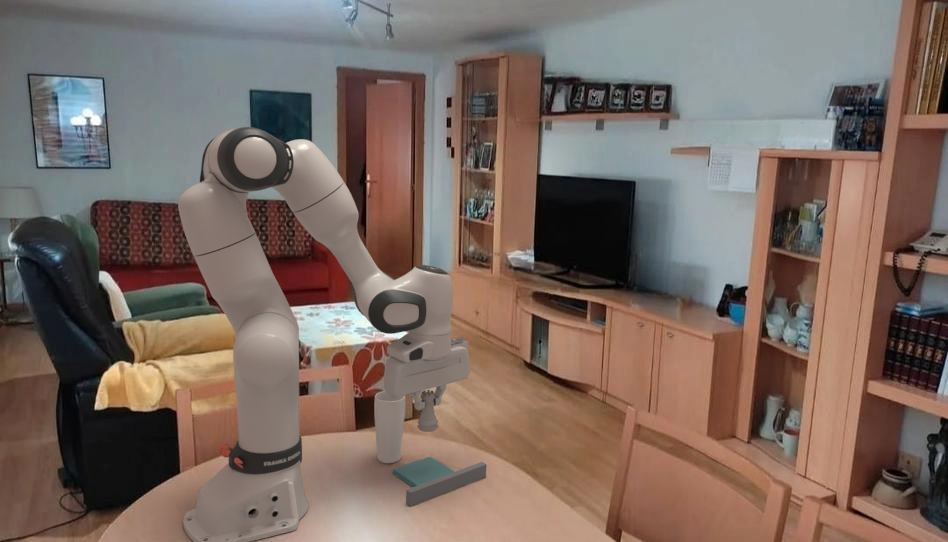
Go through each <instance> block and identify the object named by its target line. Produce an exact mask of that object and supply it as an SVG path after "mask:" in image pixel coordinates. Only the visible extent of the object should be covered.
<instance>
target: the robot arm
mask: <svg viewBox="0 0 948 542" xmlns="http://www.w3.org/2000/svg"><path fill="white" fill-rule="evenodd" d="M337 170H338V169H336V168H335V166H334V165H333V164H332V162H331V161H330V160H329V158H328V157H327V156H326V155H325V153H323V152H322V150H321V149H320V148H319V147H318V146H317V145H316V144H315V143H314V142H312V141H311V140H309V139H303V138H301V139H299V138H298V139H293V140H290V141H287V142H285V141H282V140H281V139H279V138H277V137H275V136H274V135H272V134H270V133H269V132H267V131H265V130H262V129H260V128H257V127H252V126H241V127H239V128H230V129H228V130H225V131H224V132H221V133H220V134H218V135H217V136H215V137H213V138H212V139H211V140H210V141H209V142H208V144H206V146H205V149H204V151H203V155H202V158H201V168H200V174H199V175H200V176H199V183H196V184H193V185H191V186H190V187H189V188H187V189H186V190H185V191H184V192H183V193H182V194H181V195H180V197H179V199H178V204H177V207H178V213H179V217H180V221H181V225H182V226H181V227H182V229H183V231H184V235H185V237H186V241H187V244H188V246H189V249H190V251H191V253H192V256H193V257H194V260H195V262H196V264H197V267H198V269H199V271H200V273H201V276H202V278H203V279H204V282H205V284H206V286H207V288H208V290H209V293H210V295H211V297H212V298H213V299H214V301H215V302H216V303H217V304H218V306H219V307H220V309H221V310H222V312H223V313H224V315H225V317H226V318H227V320H228V321H229V324H230V325H231V328H232V329H233V332H234V335H235V340H234V345H233V349H232V359H233V360H232V362H233V372H234V373H233V374H234V375H233V376H234V384H235V394H236V404H237V405H236V406H237V435H238V436H237V437H238V439H237V441H236V443H235V445H234V447H233V448H232V447H230V445H228V444H227V443H223V444H221V445H220V447H218V453H219V454H220V455H221V456H222V457H223V458H228V463H226V465H225V466H224V467H223V468H222V469H220V470H219V471H218V472H216V474H215V475H214V476H213V477H212V478H210V480H208V481H207V482H206V483H205V484H203V486H201V488H200V490H199V492H198V494H197V499H196V505H195V508H192V509H191V510H188V511H186V512H185V513H184V515H183V521H182V524H183V525H182V526H183V530H184V532H185V534H186V535H187V537H188V538H189V539H190V540H191V541H192V542H254V541H257V540H261V539H262V540H263V539H266V538H269V537H273V536H277V535H281V534H282V535H283V534H285V533H290V532H294V531H295V530H297V529H298V527H299V523H300V520H301V519H302V518H303V517H304V516H305V515H306V513H307V512H308V510H309V505H310V504H309V500H308V498H307V495H306V494H307V493H306V491H305V487H304V481H303V475H302V467H301V466H302V465H301V464H302V461H303V441H302V440H303V439H302V436H301V434H300V337H299V336H300V329H299V324H298V321H297V319H296V316H295V314H294V312H293V310H292V308H291V306H290V303H289V302H288V300H287V297H286V295H285V294H284V292H283V290H282V288H281V286H280V284H279V282H278V280H277V279H276V276H275V275H274V273H273V270H272V268H271V266H270V264H269V261H268V258H267V257H266V255H265V252H264V249H263V246H262V245H261V243H260V240H259V238H258V236H257V235H258V234H257V233H256V231H255V229H254V226H253V225H252V222H251V220H250V218H249V217H248V215H249V214H248V211H247V200H248V199H247V198H248V196H249V193H253V192H257V191H263V190H267V189H269V188H272V189H273V190H275V191H276V192H278V194H279V195H280V196H281V197H282V198H283V199H284V201H285V202H286V204H287V205H288V207H289V209H290V211H291V212H292V213H293V215H294V216H295V218H296V219H297V221H298V222H299V224H301V226H302V227H303V228H304V229H305V230H306V232H308V234H309V235H310V236H311V237H312V238H313V239H314V240H316V241H317V242H318V243H320V244H321V245H324V246H325V247H326V248H327V249H328V250H329V251H330V252H331V253H332V254H333V256H334V258H335V260H336V261H337V262H338V264H339V266H340V267H341V269H342V270H343V271H344V273H345V275H346V276H347V278H348V279H349V282H350V284H351V287H352V293H353V294H352V295H353V300H354V304H355V307H356V309H357V311H358V312H359V313H360V314H361V315H362V316H363V317H365V318H366V320H367V321H368V322H369V323H370V324H371V326H372V327H373V328H375V329H376V330H377V331H379V332H381V333H383V334H387V335H391V334H393V335H394V334H398V333H403V332H408V333H406V334H405V335H403V336H401V337H400V338H399V339H397V340H395V341H393V342H391V343H390V344H388V346H387V348H386V353H387V355H389V357H388V358H387V359H386V362H385V364H384V365H385V367H384V374H383V389H384V391H386V392H387V393H388V394H390V395H392V396H394V397H399V396H403V395H405V396H406V395H410V396H411V398H412V399H413V401H414V409H415V410H417V411H422V409H425V401H423V400H422V399H421V397H420V396H421V394H422V391H424V390H425V391H427V390H430V389H433V388H435V391H434V395H435V396H436V397H435V398H434V400H433V401H434V407H436V406H439V405H442V397H443V395H444V393H445V391H446V389H447V385H449V384H452V383H456V382H460V381H464V380H467V379H468V377H469V376H470V372H471V364H470V355H469V342H468V340H467V339H466V338H464V337H462V336H458V337H457V338H452V332H453V331H452V330H453V328H452V323H451V317H452V313H453V304H454V303H453V300H454V299H453V296H454V294H453V281H452V277H451V275H450V274H449V273H448V272H446V271H445V270H444V269H442V268H440V267H436V266H434V265H433V266H432V265H426V264H420V265H419V264H418V265H416V266H414V267H413V268H412V269H411V270H410V271H409V272H406V274H403V275H402V276H400V277H397V278H396V279H395V278H393V276H391V275H389V274H388V273H387V272H384V271H383V270H381V269H380V268H379V267H378V265H377V264H376V263H375V261H374V259H373V258H372V256H371V254H370V253H369V251H368V249H367V248H366V246H365V244H364V243H363V241H362V239H361V237H360V234H359V231H358V221H359V215H360V213H359V211H358V208H357V204H356V202H355V200H354V198H353V195H352V193H351V192H350V189H349V187H348V186H347V184H346V182H345V181H344V179H343V178H342V176H341V175H340V173H339V171H337Z"/></svg>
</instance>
